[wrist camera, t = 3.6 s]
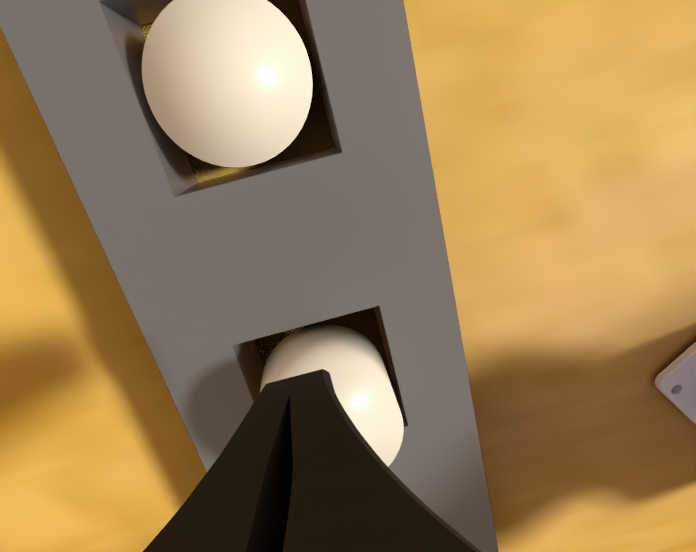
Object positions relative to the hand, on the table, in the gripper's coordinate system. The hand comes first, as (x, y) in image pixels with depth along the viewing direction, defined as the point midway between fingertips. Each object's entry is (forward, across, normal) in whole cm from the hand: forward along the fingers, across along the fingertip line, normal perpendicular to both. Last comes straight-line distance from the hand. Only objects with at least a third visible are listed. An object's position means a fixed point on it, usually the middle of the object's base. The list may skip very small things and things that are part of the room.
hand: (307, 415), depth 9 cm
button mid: (+6, 0, +3) cm, 7 cm away
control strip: (+8, 0, +3) cm, 9 cm away
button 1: (+8, 0, -7) cm, 11 cm away
